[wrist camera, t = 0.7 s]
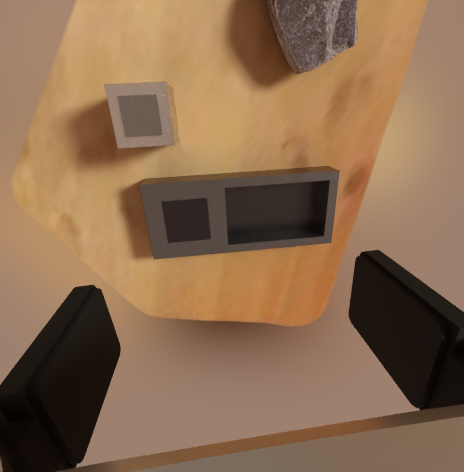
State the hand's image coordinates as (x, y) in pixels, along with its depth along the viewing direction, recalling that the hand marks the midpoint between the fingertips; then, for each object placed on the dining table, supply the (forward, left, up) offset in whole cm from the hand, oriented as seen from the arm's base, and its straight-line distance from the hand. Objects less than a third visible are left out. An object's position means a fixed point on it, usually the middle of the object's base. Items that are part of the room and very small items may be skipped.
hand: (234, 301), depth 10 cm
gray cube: (-7, -6, -24) cm, 25 cm away
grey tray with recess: (+4, +3, -24) cm, 24 cm away
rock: (-16, +10, -24) cm, 30 cm away
